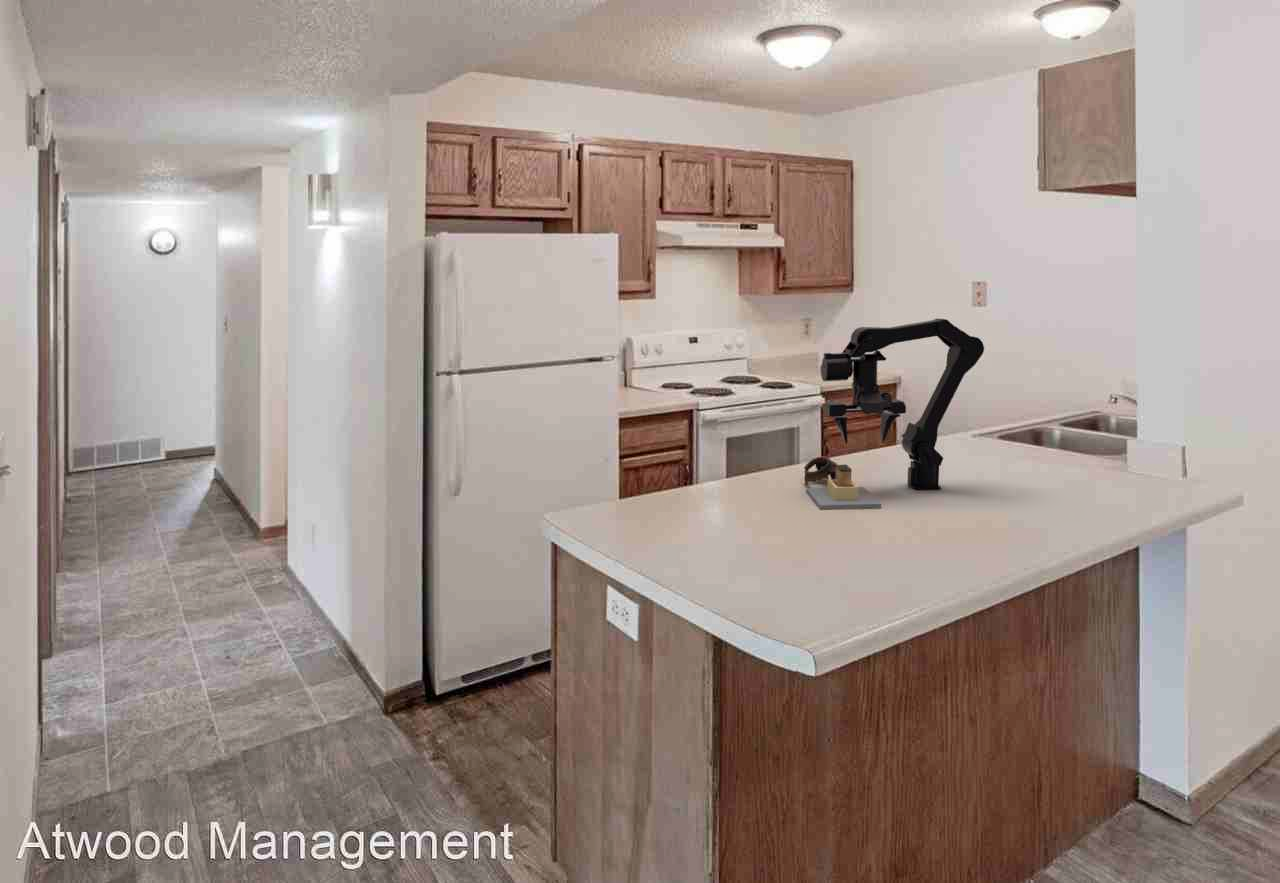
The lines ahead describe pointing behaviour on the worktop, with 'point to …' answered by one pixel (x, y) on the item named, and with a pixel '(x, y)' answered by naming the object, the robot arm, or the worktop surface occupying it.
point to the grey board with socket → (842, 497)
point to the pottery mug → (820, 469)
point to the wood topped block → (843, 476)
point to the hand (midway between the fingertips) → (864, 442)
